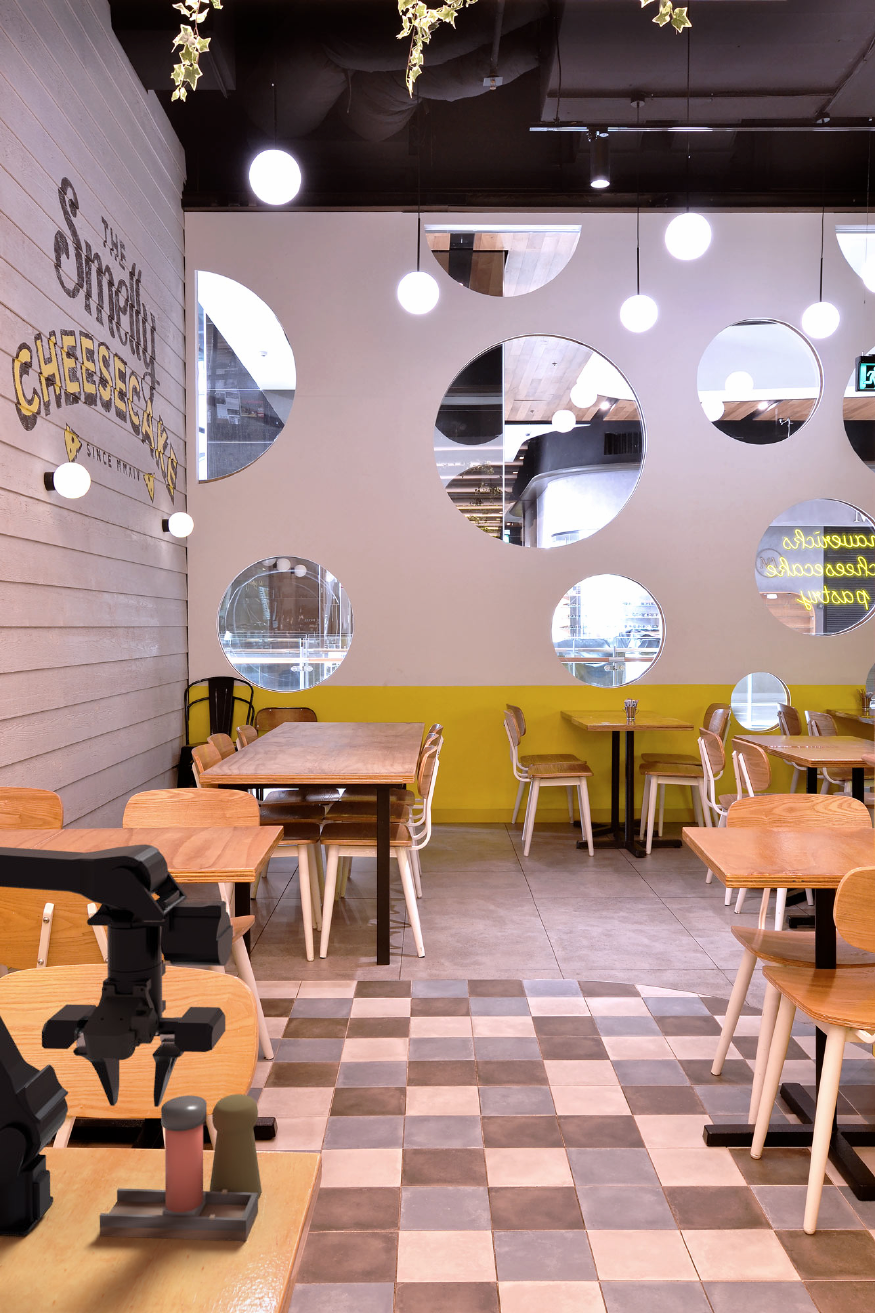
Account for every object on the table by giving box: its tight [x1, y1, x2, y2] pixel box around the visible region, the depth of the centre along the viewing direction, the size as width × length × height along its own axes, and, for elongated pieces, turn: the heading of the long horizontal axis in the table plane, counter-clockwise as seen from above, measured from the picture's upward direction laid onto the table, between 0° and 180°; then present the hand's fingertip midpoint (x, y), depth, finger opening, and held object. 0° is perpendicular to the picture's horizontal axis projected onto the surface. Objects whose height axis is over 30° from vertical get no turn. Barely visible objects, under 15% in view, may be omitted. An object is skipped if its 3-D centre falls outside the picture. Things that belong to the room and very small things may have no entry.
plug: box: [160, 1095, 208, 1216], centre depth 101 cm, size 5×5×12 cm
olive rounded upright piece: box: [209, 1093, 263, 1200], centre depth 107 cm, size 6×6×11 cm
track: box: [99, 1187, 259, 1242], centre depth 101 cm, size 16×5×2 cm, turn 87°
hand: (135, 1104), depth 102 cm, fingers open, 5 cm apart
